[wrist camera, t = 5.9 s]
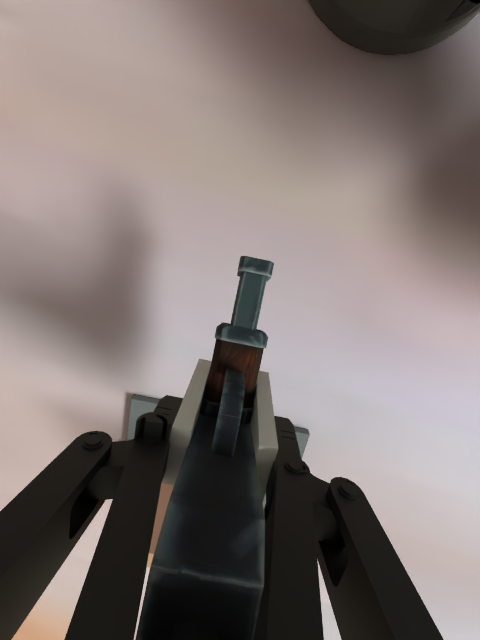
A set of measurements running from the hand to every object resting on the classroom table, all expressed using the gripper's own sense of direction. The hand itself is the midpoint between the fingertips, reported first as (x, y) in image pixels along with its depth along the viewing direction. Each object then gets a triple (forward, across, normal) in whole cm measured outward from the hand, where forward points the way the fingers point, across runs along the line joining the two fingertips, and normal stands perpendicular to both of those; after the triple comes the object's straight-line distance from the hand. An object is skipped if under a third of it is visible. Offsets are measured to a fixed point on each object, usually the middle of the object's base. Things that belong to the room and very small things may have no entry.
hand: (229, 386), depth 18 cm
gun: (+2, 0, 0) cm, 2 cm away
